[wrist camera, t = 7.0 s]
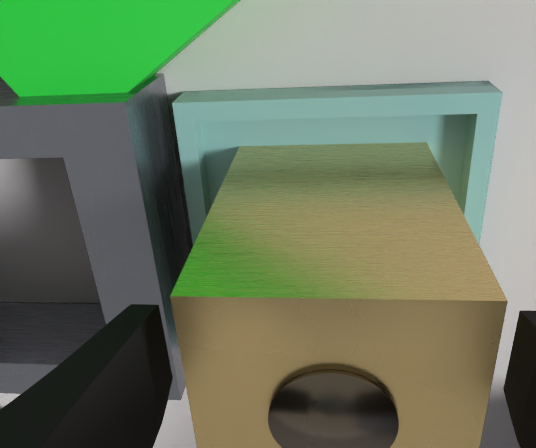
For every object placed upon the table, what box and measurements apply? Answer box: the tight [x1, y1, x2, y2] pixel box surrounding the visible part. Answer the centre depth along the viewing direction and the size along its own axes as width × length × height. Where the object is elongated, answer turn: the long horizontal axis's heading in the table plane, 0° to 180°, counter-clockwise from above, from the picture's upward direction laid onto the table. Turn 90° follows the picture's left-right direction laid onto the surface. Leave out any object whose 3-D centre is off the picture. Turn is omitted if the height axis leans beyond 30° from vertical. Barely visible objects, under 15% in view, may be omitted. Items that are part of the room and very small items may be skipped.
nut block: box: [170, 142, 507, 448], centre depth 12 cm, size 5×5×7 cm
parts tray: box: [172, 81, 502, 246], centre depth 15 cm, size 8×8×1 cm
